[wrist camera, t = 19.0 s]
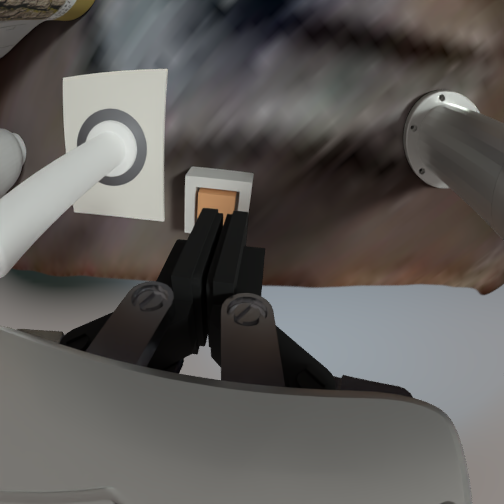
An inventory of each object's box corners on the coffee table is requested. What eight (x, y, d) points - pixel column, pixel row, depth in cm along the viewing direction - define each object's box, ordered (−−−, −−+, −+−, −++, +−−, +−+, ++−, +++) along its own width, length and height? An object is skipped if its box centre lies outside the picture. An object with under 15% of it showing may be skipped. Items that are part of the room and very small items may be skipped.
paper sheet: (167, 69, 27) (166, 69, 26) (164, 220, 38) (163, 221, 37) (64, 77, 26) (62, 78, 26) (75, 210, 37) (73, 212, 37)
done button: (236, 189, 33) (235, 196, 32) (233, 220, 36) (231, 229, 34) (201, 185, 33) (198, 192, 31) (200, 216, 35) (197, 224, 34)
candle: (106, 184, 34) (-22, 331, 14) (78, 139, 31) (-77, 257, 10) (148, 158, 32) (8, 315, 12) (119, 108, 29) (-63, 215, 8)
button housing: (253, 173, 34) (252, 182, 31) (246, 227, 38) (245, 240, 35) (191, 166, 33) (185, 175, 31) (190, 220, 38) (184, 232, 35)
